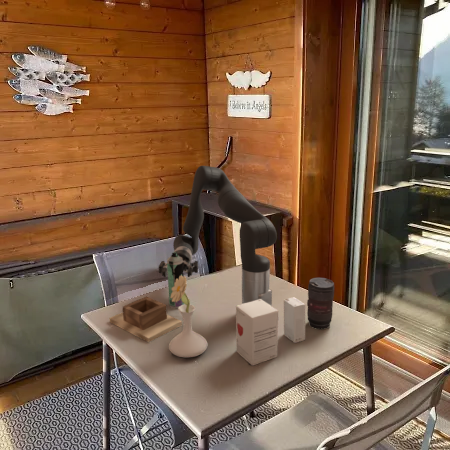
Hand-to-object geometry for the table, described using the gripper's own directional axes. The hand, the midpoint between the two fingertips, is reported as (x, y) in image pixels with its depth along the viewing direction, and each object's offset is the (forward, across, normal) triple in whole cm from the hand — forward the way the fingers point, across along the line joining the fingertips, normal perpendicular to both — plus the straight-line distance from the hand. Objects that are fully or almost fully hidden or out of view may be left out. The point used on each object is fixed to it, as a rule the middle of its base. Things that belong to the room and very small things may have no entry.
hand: (176, 274), depth 166 cm
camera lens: (+16, +48, +11) cm, 52 cm away
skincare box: (+24, +39, +11) cm, 47 cm away
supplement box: (+33, +27, +11) cm, 44 cm away
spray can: (+2, 0, +11) cm, 11 cm away
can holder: (+15, -9, +11) cm, 21 cm away
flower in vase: (+32, +7, +11) cm, 35 cm away
